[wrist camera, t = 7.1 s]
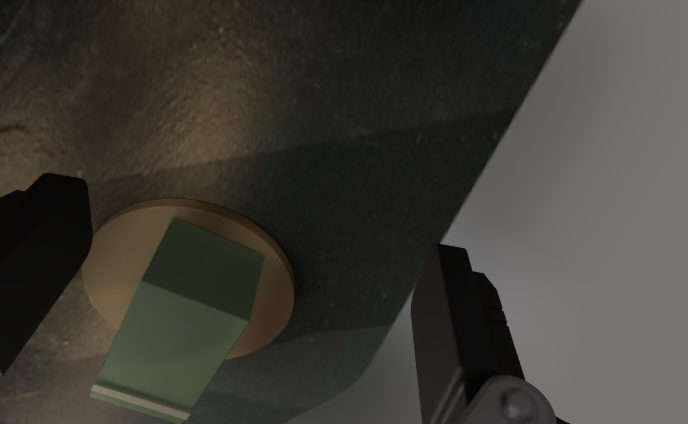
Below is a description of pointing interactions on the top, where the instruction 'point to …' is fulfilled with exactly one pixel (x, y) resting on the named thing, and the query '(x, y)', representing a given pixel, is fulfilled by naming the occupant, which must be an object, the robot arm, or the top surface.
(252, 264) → the green box
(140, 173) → the top surface
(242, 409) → the top surface
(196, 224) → the turntable
